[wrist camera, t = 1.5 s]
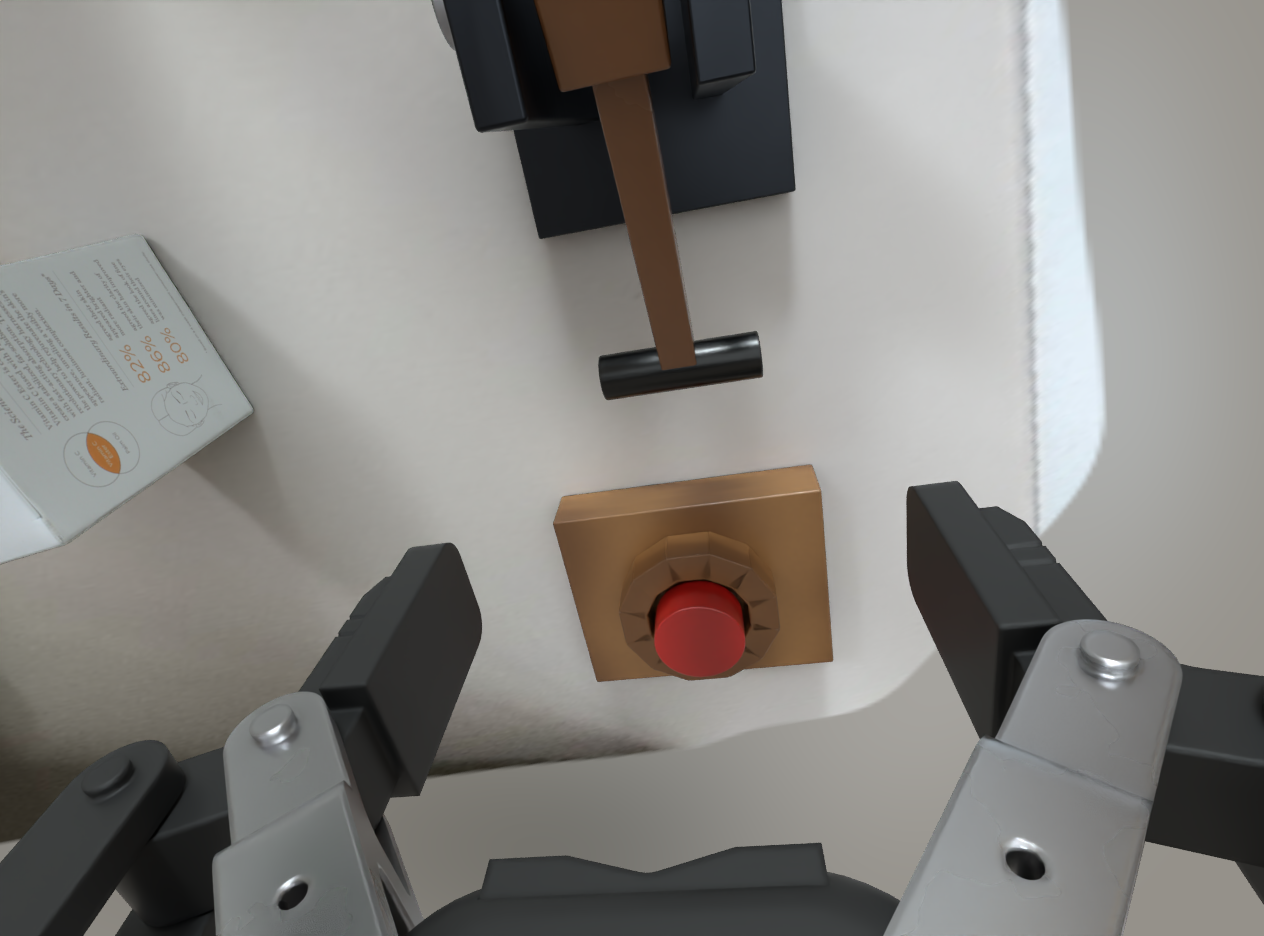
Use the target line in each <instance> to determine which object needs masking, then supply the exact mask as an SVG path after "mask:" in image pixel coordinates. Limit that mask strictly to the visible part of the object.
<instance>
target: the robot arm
mask: <svg viewBox="0 0 1264 936" xmlns="http://www.w3.org/2000/svg"><path fill="white" fill-rule="evenodd" d="M906 505H907V569H908V577H909V582H910V587H911V591H912V594H913V597H914V600H915V602H916V604H917V606H918V608H919V611H920V613H921V615H922V617H923V619H924V621H925V623H926V625H927V628H928V630H929V632H930V634H931V636H932V638H933V640H934V642H935V645H936V647H937V649H938V651H939V653H940V655H941V657H942V659H943V661H944V664H945V666H946V668H947V670H948V672H949V674H950V676H951V678H952V680H953V683H954V685H955V687H956V689H957V691H958V693H959V696H960V698H961V700H962V702H963V704H964V706H965V708H966V710H967V712H968V715H969V717H970V719H971V721H972V723H973V725H974V727H975V730H976V732H977V734H978V736H979V738H980V740H979V742H978V744H977V745H976V746H975V748H974V750H973V752H972V754H971V756H970V759H969V760H968V763H967V765H966V767H965V769H964V771H963V773H962V775H961V777H960V779H959V781H958V783H957V785H956V787H955V789H954V791H953V793H952V796H951V798H950V800H949V802H948V804H947V806H946V808H945V810H944V812H943V814H942V816H941V818H940V820H939V822H938V824H937V826H936V828H935V830H934V832H933V835H932V837H931V839H930V841H929V843H928V845H927V847H926V849H925V851H924V853H923V855H922V857H921V860H920V861H919V864H918V866H917V867H916V870H915V872H914V874H913V876H912V878H911V880H910V882H909V884H908V886H907V888H906V890H905V892H904V894H903V896H902V898H901V900H900V901H899V900H898V899H896V898H894V897H893V896H891V895H890V894H888V893H885V892H883V891H881V890H879V889H877V888H875V887H873V886H871V885H869V884H866V883H864V882H861V881H858V880H855V879H852V878H849V877H846V876H843V875H838V874H834V873H830V872H827V871H826V865H825V860H824V854H823V849H822V844H821V843H808V844H789V845H768V846H749V847H734V848H731V849H728V850H725V851H721V852H718V853H715V854H711V855H708V856H705V857H702V858H699V859H695V860H692V861H689V862H686V863H683V864H679V865H676V866H673V867H670V868H666V869H663V870H660V871H656V872H652V873H642V872H637V871H632V870H627V869H623V868H619V867H615V866H610V865H606V864H601V863H597V862H592V861H588V860H584V859H579V858H575V857H571V856H548V857H530V858H529V857H528V858H508V859H490V860H489V863H488V867H487V871H486V875H485V879H484V883H483V886H482V889H480V890H477V891H474V892H472V893H470V894H468V895H465V896H463V897H461V898H459V899H456V900H454V901H453V902H451V903H449V904H448V905H446V906H444V907H442V908H441V909H439V910H437V911H436V912H434V913H433V914H431V915H430V916H429V917H427V918H426V919H423V916H422V913H421V911H420V908H419V906H418V903H417V900H416V897H415V894H414V891H413V889H412V886H411V883H410V881H409V878H408V875H407V872H406V869H405V867H404V864H403V861H402V858H401V855H400V853H399V850H398V847H397V844H396V842H395V839H394V836H393V833H392V830H391V827H390V825H389V823H388V821H387V819H386V818H385V815H384V811H385V808H386V806H387V804H388V802H389V799H390V798H392V797H407V796H420V793H421V791H422V788H423V786H424V783H425V781H426V778H427V775H428V773H429V770H430V768H431V765H432V763H433V760H434V758H435V755H436V753H437V750H438V748H439V745H440V742H441V740H442V737H443V735H444V732H445V730H446V727H447V725H448V722H449V720H450V717H451V715H452V712H453V709H454V707H455V704H456V702H457V699H458V697H459V694H460V692H461V689H462V687H463V684H464V682H465V679H466V676H467V674H468V671H469V669H470V666H471V664H472V661H473V659H474V656H475V654H476V651H477V649H478V646H479V643H480V640H481V634H482V619H481V613H480V609H479V606H478V603H477V600H476V598H475V595H474V592H473V589H472V586H471V584H470V581H469V578H468V575H467V573H466V570H465V567H464V564H463V562H462V559H461V556H460V553H459V551H458V549H457V548H456V546H455V545H454V544H452V543H442V544H434V545H426V546H418V547H412V548H410V549H408V551H407V552H406V553H405V555H404V557H403V558H402V560H401V561H400V563H399V564H398V566H397V567H396V569H395V570H394V572H393V574H392V575H391V576H390V577H385V578H384V579H383V580H381V581H380V582H379V583H378V584H377V585H376V586H374V587H373V588H372V589H371V590H370V591H368V592H367V593H366V594H365V595H364V596H363V597H362V598H361V600H360V601H359V603H358V604H357V606H356V607H355V609H354V610H353V612H352V613H351V615H350V620H347V621H346V622H345V624H344V625H343V627H342V628H341V630H340V631H339V636H338V637H335V638H334V640H333V641H332V643H331V644H330V646H329V647H328V649H327V650H326V652H325V653H324V655H323V656H322V658H321V659H320V661H319V662H318V664H317V665H316V667H315V668H314V670H313V671H312V673H311V674H310V675H309V677H308V678H307V680H306V681H305V683H304V684H303V686H302V687H301V689H300V690H299V692H295V693H291V694H287V695H284V696H281V697H278V698H276V699H274V700H272V701H269V702H268V703H266V704H264V705H262V706H261V707H259V708H258V709H256V710H255V711H253V712H252V713H251V714H249V715H248V716H247V717H246V718H245V719H244V720H242V721H241V722H240V723H239V724H238V726H237V727H236V728H235V729H234V730H233V731H232V733H231V734H230V736H229V737H228V739H227V741H226V743H225V746H224V747H222V748H219V749H216V750H213V751H210V752H207V753H204V754H201V755H198V756H195V757H192V758H189V759H186V760H183V761H180V762H177V761H176V760H175V759H174V757H173V756H172V754H171V753H170V751H169V750H168V749H167V747H166V746H165V745H164V744H163V743H162V742H159V741H155V740H145V741H140V742H135V743H132V744H129V745H126V746H124V747H121V748H119V749H117V750H115V751H113V752H111V753H109V754H107V755H106V756H104V757H102V758H100V759H99V760H97V761H96V762H94V763H93V764H92V765H90V766H89V767H88V768H86V769H85V770H84V771H82V772H81V773H80V774H79V775H78V776H77V777H76V778H75V779H73V780H72V782H71V783H70V784H69V785H68V786H67V787H66V788H65V789H64V790H63V791H62V792H61V794H60V795H59V796H58V797H57V798H56V799H55V801H54V802H53V803H52V804H51V805H50V806H49V807H48V809H47V810H46V811H45V812H44V813H43V814H42V815H41V817H40V818H39V819H38V820H37V821H36V822H35V824H34V825H33V826H32V827H31V828H30V829H29V830H28V832H27V833H26V834H25V835H24V836H23V837H22V838H21V840H20V841H19V842H18V843H17V844H16V846H15V847H14V848H13V849H12V850H11V851H10V852H9V854H8V855H7V856H6V857H5V858H4V859H3V860H2V861H1V863H0V936H83V935H84V934H85V932H86V931H87V929H88V928H89V927H90V925H91V924H92V922H93V921H94V919H95V918H96V916H97V915H98V913H99V912H100V911H101V909H102V908H103V906H104V905H105V903H106V902H107V900H108V899H109V897H110V896H111V895H112V893H113V892H114V890H115V889H116V890H117V891H118V893H119V894H120V895H121V896H122V897H123V898H124V899H125V901H126V902H127V903H128V904H129V906H131V908H132V911H131V912H130V914H129V915H128V917H127V918H126V920H125V921H124V923H123V925H122V926H121V928H120V929H119V931H118V932H117V934H116V935H115V936H1123V932H1124V928H1125V924H1126V920H1127V916H1128V911H1129V907H1130V903H1131V898H1132V894H1133V890H1134V886H1135V882H1136V877H1137V873H1138V869H1139V865H1140V861H1141V856H1142V852H1143V848H1144V843H1145V841H1146V842H1151V843H1156V844H1160V845H1165V846H1169V847H1173V848H1178V849H1182V850H1187V851H1191V852H1196V853H1201V854H1205V855H1210V856H1214V857H1218V858H1223V859H1227V860H1232V861H1235V862H1236V863H1237V865H1238V867H1239V868H1240V870H1241V871H1242V873H1243V874H1244V876H1245V877H1246V879H1247V880H1248V882H1249V883H1250V885H1251V886H1252V888H1253V889H1254V891H1255V892H1256V894H1257V895H1258V897H1259V898H1260V900H1261V901H1262V903H1263V904H1264V676H1258V675H1249V674H1242V673H1234V672H1226V671H1219V670H1211V669H1203V668H1198V667H1191V666H1187V665H1183V664H1180V663H1179V662H1178V660H1177V658H1176V657H1175V656H1174V654H1173V653H1172V652H1171V651H1170V650H1169V649H1168V648H1166V646H1164V645H1163V644H1162V643H1161V642H1159V641H1158V640H1156V639H1155V638H1153V637H1151V636H1149V635H1148V634H1146V633H1144V632H1142V631H1139V630H1137V629H1134V628H1132V627H1129V626H1126V625H1122V624H1119V623H1114V622H1109V621H1107V620H1106V618H1105V617H1104V616H1103V615H1102V614H1101V613H1100V611H1099V610H1098V609H1097V608H1096V606H1095V605H1094V604H1093V603H1092V602H1091V600H1090V599H1089V598H1088V597H1087V596H1086V595H1085V593H1084V592H1083V591H1082V590H1081V588H1080V587H1079V586H1078V585H1077V584H1076V582H1075V581H1074V580H1073V579H1072V578H1071V576H1070V575H1069V574H1068V573H1067V572H1066V570H1065V569H1064V568H1063V567H1062V566H1061V564H1060V563H1056V559H1055V557H1054V556H1053V555H1052V554H1051V552H1050V551H1049V550H1048V549H1047V548H1046V546H1042V542H1041V540H1040V539H1039V538H1038V537H1037V536H1036V534H1035V533H1034V532H1033V531H1032V530H1031V528H1030V527H1029V526H1028V525H1027V524H1026V522H1024V521H1023V520H1021V519H1019V518H1017V517H1015V516H1014V515H1012V514H1010V513H1008V512H1006V511H1005V510H1003V509H1001V508H999V507H997V506H995V507H987V508H978V507H977V505H976V504H975V503H974V501H973V500H972V499H971V497H970V496H969V495H968V493H967V492H966V490H965V489H964V488H963V486H962V485H961V484H960V483H959V482H958V481H951V482H943V483H935V484H927V485H919V486H911V487H909V488H908V491H907V501H906Z"/></svg>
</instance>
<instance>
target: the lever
mask: <svg viewBox="0 0 1264 936" xmlns="http://www.w3.org/2000/svg"><path fill="white" fill-rule="evenodd" d="M533 1H534V5H535V8H536V12H537V15H538V18H539V22H540V25H541V29H542V32H543V36H544V39H545V43H546V46H547V50H548V53H549V57H550V60H551V64H552V67H553V71H554V74H555V78H556V81H557V85H558V88H559V89H560V91H561V92H566V91H571V90H575V89H580V88H584V87H589V86H592V89H593V93H594V97H595V101H596V105H597V109H598V113H599V117H600V121H601V125H602V129H603V133H604V137H605V142H606V146H607V150H608V154H609V158H610V162H611V166H612V170H613V174H614V178H615V182H616V186H617V190H618V195H619V199H620V203H621V207H622V211H623V215H624V219H625V223H626V227H627V231H628V235H629V239H630V243H631V248H632V252H633V256H634V260H635V264H636V268H637V272H638V276H639V280H640V284H641V288H642V292H643V296H644V301H645V305H646V309H647V313H648V317H649V321H650V325H651V329H652V333H653V337H654V341H655V345H656V347H652V348H646V349H640V350H634V351H627V352H621V353H615V354H609V355H602V356H600V357H599V362H598V368H599V378H600V383H601V388H602V392H603V395H604V397H605V399H606V400H614V399H621V398H627V397H634V396H641V395H647V394H654V393H661V392H667V391H674V390H681V389H688V388H694V387H701V386H708V385H714V384H721V383H728V382H734V381H741V380H748V379H755V378H761V377H763V365H762V355H761V348H760V341H759V336H758V333H757V331H753V332H747V333H740V334H734V335H728V336H721V337H715V338H709V339H703V340H696V341H694V336H693V331H692V325H691V319H690V313H689V308H688V302H687V296H686V290H685V285H684V279H683V273H682V268H681V262H680V256H679V250H678V245H677V239H676V233H675V228H674V222H673V216H672V210H671V205H670V199H669V193H668V187H667V182H666V176H665V170H664V165H663V159H662V153H661V147H660V142H659V136H658V130H657V125H656V119H655V113H654V107H653V102H652V96H651V90H650V85H649V79H648V73H652V72H657V71H661V70H666V69H668V68H670V67H671V63H672V62H671V53H670V45H669V36H668V28H667V20H666V11H665V4H664V0H533Z"/></svg>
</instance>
